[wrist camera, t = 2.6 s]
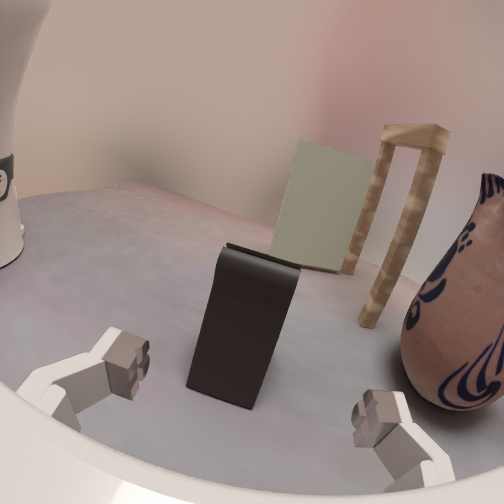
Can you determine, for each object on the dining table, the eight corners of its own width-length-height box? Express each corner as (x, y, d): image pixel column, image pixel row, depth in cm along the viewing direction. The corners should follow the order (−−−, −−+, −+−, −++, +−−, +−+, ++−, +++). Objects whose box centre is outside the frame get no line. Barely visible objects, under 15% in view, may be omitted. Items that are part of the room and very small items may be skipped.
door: (267, 251, 51) (297, 138, 43) (335, 264, 53) (369, 160, 45) (269, 258, 49) (301, 139, 41) (339, 270, 51) (376, 163, 43)
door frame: (359, 327, 37) (435, 123, 26) (339, 267, 55) (384, 125, 43) (374, 330, 37) (450, 132, 26) (350, 270, 55) (396, 129, 43)
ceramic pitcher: (403, 325, 40) (468, 169, 30) (501, 387, 27) (582, 238, 17) (357, 383, 27) (463, 145, 17) (492, 468, 15) (635, 261, 5)
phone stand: (251, 410, 22) (295, 298, 17) (185, 387, 23) (202, 268, 18) (270, 347, 30) (305, 247, 25) (218, 330, 31) (240, 227, 26)
